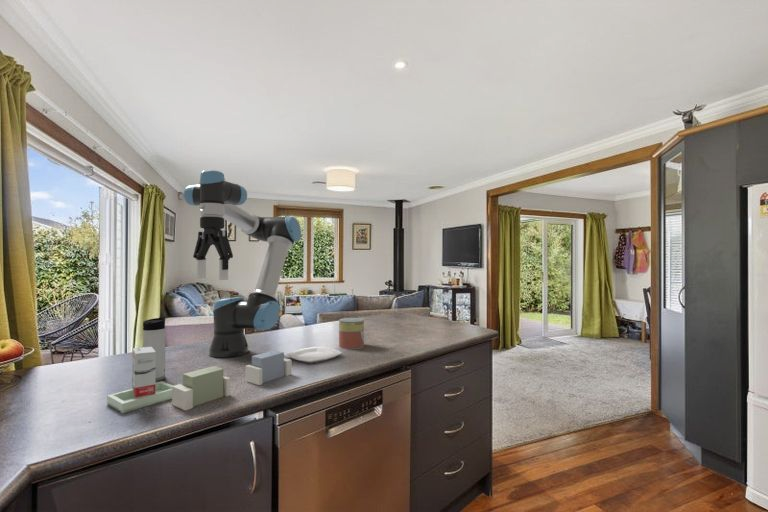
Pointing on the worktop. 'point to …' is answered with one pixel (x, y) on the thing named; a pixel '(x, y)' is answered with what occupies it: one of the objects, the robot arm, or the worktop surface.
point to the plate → (314, 354)
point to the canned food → (351, 333)
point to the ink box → (143, 371)
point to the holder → (184, 395)
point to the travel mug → (156, 342)
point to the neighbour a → (205, 384)
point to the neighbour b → (270, 364)
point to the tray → (139, 398)
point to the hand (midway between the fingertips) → (212, 279)
